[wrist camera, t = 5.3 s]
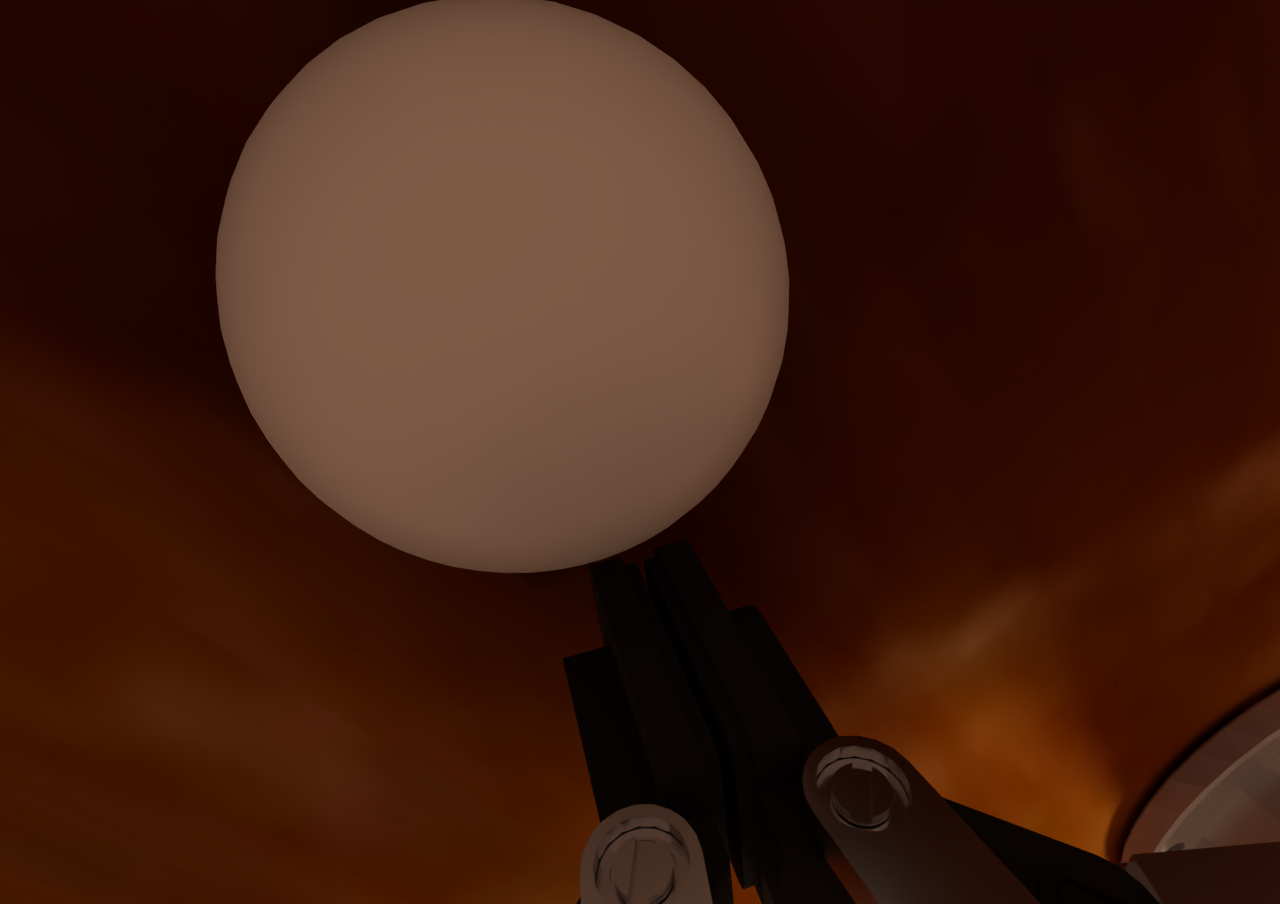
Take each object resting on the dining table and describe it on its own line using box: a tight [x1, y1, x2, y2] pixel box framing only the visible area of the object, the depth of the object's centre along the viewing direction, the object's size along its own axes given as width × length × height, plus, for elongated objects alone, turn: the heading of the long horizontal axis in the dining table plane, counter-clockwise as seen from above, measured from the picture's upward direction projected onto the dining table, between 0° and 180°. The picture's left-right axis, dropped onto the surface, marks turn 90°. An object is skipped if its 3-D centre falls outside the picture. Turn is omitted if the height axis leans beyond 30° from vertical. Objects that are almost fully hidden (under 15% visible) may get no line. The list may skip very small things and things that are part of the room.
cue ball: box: [216, 0, 789, 573], centre depth 7 cm, size 6×6×6 cm
